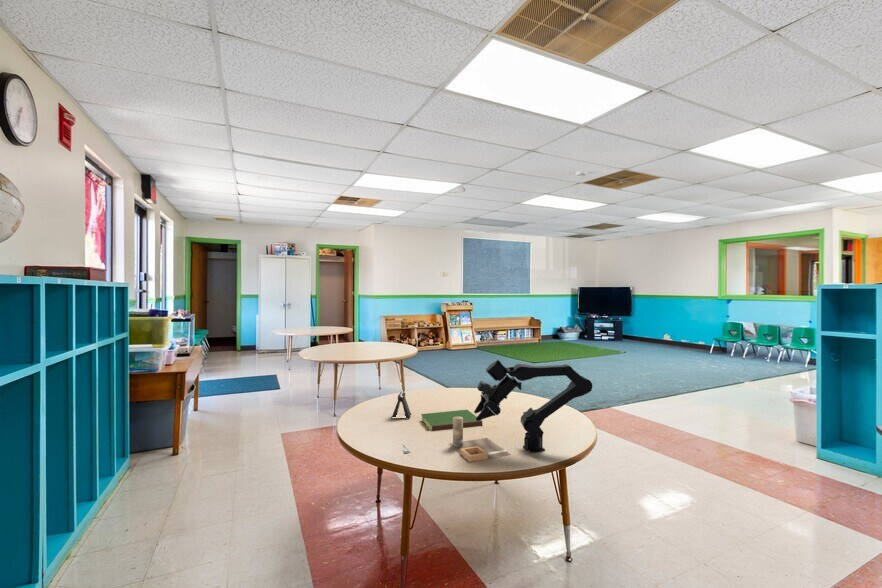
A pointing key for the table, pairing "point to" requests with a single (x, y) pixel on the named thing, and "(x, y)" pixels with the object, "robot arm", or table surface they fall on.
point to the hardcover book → (449, 419)
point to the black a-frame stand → (405, 406)
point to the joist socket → (480, 456)
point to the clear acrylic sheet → (484, 444)
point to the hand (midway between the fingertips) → (475, 416)
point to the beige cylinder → (457, 431)
